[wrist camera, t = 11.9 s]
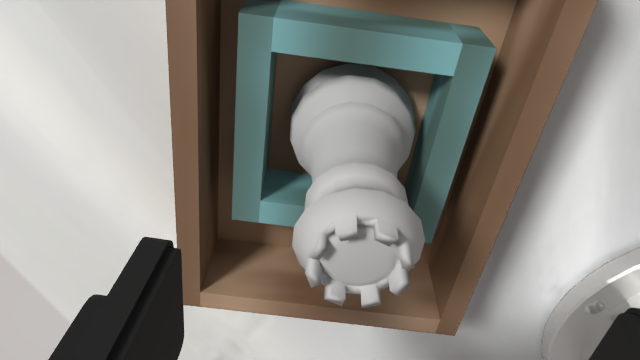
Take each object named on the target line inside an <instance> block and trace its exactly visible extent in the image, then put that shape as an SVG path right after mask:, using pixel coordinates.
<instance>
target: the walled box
mask: <svg viewBox="0 0 640 360" xmlns="http://www.w3.org/2000/svg"><path fill="white" fill-rule="evenodd" d="M165 1H166V22H167V43H168V64H169V85H170V106H171V127H172V149H173V170H174V191H175V212H176V233H177V249H181V254H182V285H183V305H190V306H199V307H207V308H216V309H225V310H234V311H242V312H251V313H260V314H269V315H278V316H286V317H295V318H304V319H313V320H322V321H330V322H339V323H348V324H357V325H366V326H374V327H383V328H392V329H401V330H410V331H418V332H427V333H436V334H445V335H453V336H455V334H456V331H457V329H458V327H459V324H460V322H461V320H462V317H463V315H464V313H465V310H466V308H467V305H468V303H469V301H470V298H471V296H472V294H473V291H474V289H475V287H476V284H477V282H478V280H479V277H480V275H481V273H482V270H483V268H484V266H485V263H486V261H487V259H488V256H489V254H490V252H491V249H492V247H493V245H494V242H495V240H496V238H497V235H498V233H499V231H500V228H501V226H502V224H503V221H504V219H505V217H506V214H507V212H508V210H509V207H510V205H511V203H512V200H513V198H514V196H515V193H516V191H517V189H518V186H519V184H520V182H521V179H522V177H523V175H524V172H525V170H526V168H527V165H528V163H529V161H530V158H531V156H532V154H533V151H534V149H535V147H536V144H537V142H538V140H539V137H540V135H541V133H542V130H543V128H544V126H545V123H546V121H547V119H548V116H549V114H550V112H551V109H552V107H553V105H554V102H555V100H556V98H557V95H558V93H559V91H560V88H561V86H562V84H563V81H564V79H565V77H566V74H567V72H568V70H569V67H570V65H571V63H572V60H573V58H574V56H575V53H576V51H577V49H578V46H579V44H580V42H581V39H582V37H583V35H584V32H585V30H586V28H587V25H588V23H589V20H590V18H591V16H592V13H593V11H594V9H595V6H596V4H597V2H598V0H165ZM347 63H350V64H359V65H367V66H374V67H376V68H378V69H380V70H381V71H383V72H385V73H387V74H389V75H390V76H392V77H394V78H396V80H397V81H398V82H399V84H400V85H401V86H402V88H403V89H404V90H405V92H406V93H407V94H408V96H409V97H410V101H411V106H412V111H413V116H414V126H415V135H414V139H413V143H412V147H411V151H410V154H409V157H408V159H407V160H406V161H405V162H404V164H403V165H402V166H401V168H400V169H399V170H398V172H397V179H398V181H399V182H400V183H401V184H402V185H403V186H404V188H405V192H406V196H407V200H408V205H409V207H410V208H411V209H412V210H413V211H414V212H415V214H416V215H417V216H418V217H419V218H420V219H421V223H422V227H423V232H424V236H425V243H424V246H423V249H422V253H421V256H420V259H419V260H418V261H417V263H416V264H415V265H414V266H415V268H413V269H410V270H409V271H408V273H409V279H410V285H409V286H408V287H407V288H406V289H405V290H404V291H403V292H402V293H401V294H400V295H399V296H397V295H395V294H394V293H392V292H391V291H390V288H389V287H387V288H385V289H383V290H381V291H380V296H381V305H379V306H373V307H368V308H362V306H361V294H351V293H345V296H346V299H345V301H344V303H343V305H342V306H339V305H337V304H334V303H332V302H329V301H327V300H324V285H323V284H320V285H317V286H315V287H312V288H311V286H310V284H309V281H308V279H307V277H306V274H305V269H304V268H303V267H302V266H301V265H300V264H299V262H298V259H297V257H296V254H295V252H294V250H293V247H292V241H293V231H294V225H295V224H296V222H297V221H298V219H299V218H300V217H301V215H302V214H303V212H304V211H305V210H304V208H305V200H306V193H307V191H308V190H309V188H310V187H311V185H312V184H313V183H312V177H311V175H310V174H309V173H308V172H307V171H306V170H305V169H304V168H303V167H302V166H301V165H300V164H299V162H298V160H297V157H296V154H295V152H294V149H293V146H292V143H291V141H290V130H291V129H290V119H291V107H292V104H293V102H294V100H295V98H296V97H297V95H298V93H299V91H300V90H301V88H302V86H303V85H304V84H305V83H306V82H308V81H309V80H310V79H312V78H313V77H314V76H316V75H317V74H318V73H320V72H321V71H322V70H325V69H328V68H332V67H336V66H340V65H343V64H347Z"/></svg>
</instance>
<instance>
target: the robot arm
mask: <svg viewBox="0 0 640 360" xmlns="http://www.w3.org/2000/svg"><path fill="white" fill-rule="evenodd" d="M183 339H184V315H183V285H182V254H181V249H177V248H174V247H173V242H172V241H170V240H164V239H157V238H150V237H144V238H142V240H141V241H140V243H139V244H138V246H137V247H136V249H135V251H134V252H133V254H132V256H131V257H130V259H129V261H128V262H127V264H126V266H125V267H124V269H123V271H122V272H121V274H120V276H119V277H118V279H117V281H116V282H115V284H114V285H113V287H112V289H111V290H110V292H109V294H108V295H107V296H104V295H93V296H91V297H90V298H89V299H88V300H87V301H86V303H85V304H84V305H83V307H82V309H81V310H80V312H79V313H78V315H77V316H76V318H75V319H74V321H73V322H72V324H71V326H70V327H69V329H68V330H67V332H66V333H65V335H64V336H63V338H62V339H61V341H60V343H59V344H58V346H57V347H56V349H55V350H54V352H53V353H52V355H51V356H50V358H49V360H177V359H178V357H179V354H180V351H181V348H182V344H183ZM542 355H543V357H544V360H640V248H637V249H635V250H633V251H631V252H628V253H626V254H624V255H622V256H620V257H618V258H616V259H613V260H611V261H609V262H608V263H606V264H605V265H603V266H602V267H600V268H598V269H597V270H595V271H594V272H592V273H590V274H589V275H587V276H586V277H585V278H584V279H583V280H582V281H580V282H579V283H578V284H577V285H576V286H574V287H573V288H572V289H571V290H570V291H569V292H568V293H567V294H566V295H565V296H564V298H563V299H562V300H561V301H560V302H559V304H558V305H557V306H556V307H555V308H554V310H553V312H552V314H551V316H550V317H549V319H548V321H547V323H546V325H545V329H544V333H543V337H542Z"/></svg>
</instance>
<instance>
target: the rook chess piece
mask: <svg viewBox="0 0 640 360" xmlns="http://www.w3.org/2000/svg"><path fill="white" fill-rule="evenodd" d="M290 129H291V130H290V141H291V143H292V146H293V149H294V152H295V154H296V157H297V160H298V162H299V164H300V165H301V166H302V167H303V168H304V169H305V170H306V171H307V172H308V173H309V174H310V175H311V177H312V183H313V184H312V185H311V187H310V188H309V190H308V191H307V193H306V200H305V208H304V210H305V211H304V212H303V214H302V215H301V217H300V218H299V219H298V221H297V222H296V224H295V225H294V231H293V241H292V247H293V250H294V252H295V254H296V257H297V259H298V262H299V264H300V265H301V266H302V267H303V268H304V269H305V274H306V277H307V279H308V281H309V284H310V286H311V288H312V287H315V286H317V285H320V284H323V285H324V300H327V301H329V302H332V303H334V304H337V305H339V306H342V305H343V303H344V301H345V299H346V296H345V293H351V294H361V306H362V308H368V307H373V306H379V305H381V296H380V291H381V290H383V289H385V288H387V287H389V288H390V291H391V292H392V293H394V294H395V295H397V296H399V295H400V294H401V293H402V292H403V291H404V290H405V289H406V288H407V287H408V286H409V285H410V279H409V273H408V271H409V270H410V269H413V268H415V266H414V265H415V264H416V263H417V261H418V260H419V259H420V256H421V253H422V249H423V246H424V243H425V236H424V232H423V227H422V223H421V219H420V218H419V217H418V216H417V215H416V214H415V212H414V211H413V210H412V209H411V208H410V207H409V205H408V200H407V196H406V192H405V188H404V186H403V185H402V184H401V183H400V182H399V181H398V179H397V172H398V170H399V169H400V168H401V166H402V165H403V164H404V162H405V161H406V160H407V159H408V157H409V154H410V151H411V147H412V143H413V139H414V135H415V126H414V116H413V111H412V106H411V101H410V97H409V96H408V94H407V93H406V92H405V90H404V89H403V88H402V86H401V85H400V84H399V82H398V81H397V80H396V78H394V77H392V76H390V75H389V74H387V73H385V72H383V71H381V70H380V69H378V68H376V67H374V66H367V65H359V64H350V63H347V64H343V65H340V66H336V67H332V68H328V69H325V70H322V71H321V72H320V73H318V74H317V75H316V76H314V77H313V78H312V79H310V80H309V81H308V82H306V83H305V84H304V85H303V86H302V88H301V90H300V91H299V93H298V95H297V97H296V98H295V100H294V102H293V104H292V107H291V119H290Z"/></svg>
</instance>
